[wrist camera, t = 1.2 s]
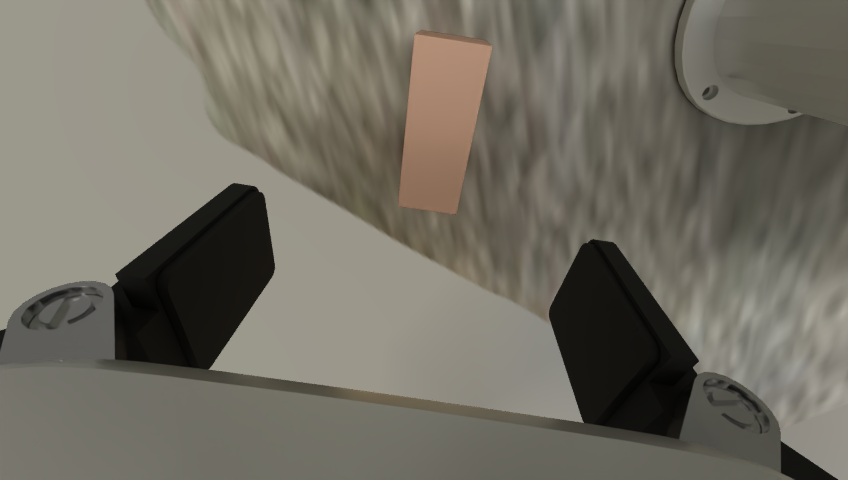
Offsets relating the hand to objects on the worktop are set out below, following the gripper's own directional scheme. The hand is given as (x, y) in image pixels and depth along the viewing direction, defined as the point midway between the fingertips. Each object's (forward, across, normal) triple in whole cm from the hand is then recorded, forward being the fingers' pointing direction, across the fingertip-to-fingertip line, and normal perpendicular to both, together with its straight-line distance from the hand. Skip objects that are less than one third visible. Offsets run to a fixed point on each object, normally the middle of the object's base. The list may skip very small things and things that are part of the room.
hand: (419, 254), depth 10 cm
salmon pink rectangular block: (+17, 0, 0) cm, 17 cm away
